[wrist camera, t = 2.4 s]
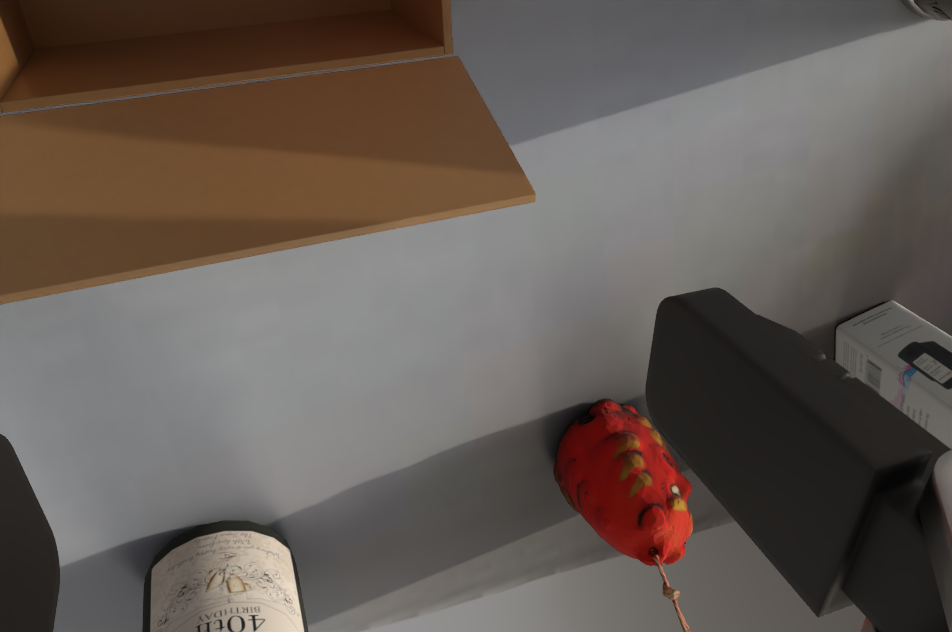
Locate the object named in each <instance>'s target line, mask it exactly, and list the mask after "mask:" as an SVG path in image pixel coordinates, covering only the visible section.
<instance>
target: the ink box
mask: <svg viewBox="0 0 952 632" xmlns="http://www.w3.org/2000/svg"><path fill="white" fill-rule="evenodd" d="M835 361H836V362H837V363H838V364H840V365H841V366H842V367H843V368H845V369H846V370H847V371H849V372H850V377H851V378H855V377H857V378H858V379H859V380H861V381H862V382H863V383H865V384H866V385H867V386H869V387H870V388H871V389H872V390H874V391H875V392H876V393H878V394H879V395H880V396H882V397H883V398H884V399H886V400H887V401H888V402H890V403H891V404H892V405H894V406H895V407H896V408H897V409H899V410H900V411H901V412H903V413H904V414H905V415H907V416H908V417H909V418H911V419H912V420H913V421H915V422H916V423H917V424H919V425H920V426H921V427H923V428H924V429H925V430H926V431H928V432H929V433H930V434H932V435H933V436H934V437H936V438H937V439H938V440H940V441H941V442H942V443H944V444H945V445H946V446H948V447H949V448H950V449H952V337H951V336H949V335H948V334H946V333H945V332H943V331H941V330H940V329H938V328H937V327H935V326H934V325H932V324H930V323H929V322H927V321H925V320H924V319H922V318H920V317H919V316H917V315H916V314H914V313H912V312H911V311H909V310H907V309H906V308H904V307H903V306H901V305H899V304H898V303H896V302H895V301H893V300H891V301H889V302H887V303H885V304H882V305H880V306H878V307H876V308H873V309H871V310H869V311H867V312H865V313H863V314H861V315H858V316H856V317H854V318H852V319H850V320H849V321H846V322H844V323H843V324H840V325H839V326H838V327H837V329H836V357H835Z"/></svg>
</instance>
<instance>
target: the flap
mask: <svg viewBox="0 0 952 632" xmlns="http://www.w3.org/2000/svg"><path fill="white" fill-rule="evenodd" d="M535 199H536V193H535V191H534V189H533V188H532V186H531V184H530V182H529V180H528V179H527V177H526V175H525V173H524V172H523V170H522V168H521V166H520V165H519V163H518V161H517V159H516V157H515V156H514V154H513V152H512V150H511V149H510V147H509V145H508V143H507V142H506V140H505V138H504V136H503V134H502V133H501V131H500V129H499V127H498V126H497V124H496V122H495V120H494V119H493V117H492V115H491V113H490V112H489V110H488V108H487V106H486V104H485V103H484V101H483V99H482V97H481V96H480V94H479V92H478V90H477V89H476V87H475V85H474V83H473V81H472V80H471V78H470V76H469V74H468V73H467V71H466V69H465V67H464V66H463V64H462V62H461V60H460V58H459V57H458V56H455V57H447V58H439V59H432V60H424V61H416V62H409V63H401V64H393V65H386V66H378V67H371V68H363V69H355V70H348V71H340V72H332V73H325V74H317V75H310V76H302V77H294V78H287V79H279V80H271V81H264V82H256V83H248V84H241V85H233V86H226V87H218V88H210V89H203V90H195V91H187V92H180V93H172V94H165V95H157V96H149V97H142V98H134V99H126V100H119V101H111V102H103V103H96V104H88V105H81V106H73V107H65V108H58V109H50V110H42V111H35V112H27V113H20V114H12V115H4V116H0V304H5V303H10V302H15V301H21V300H26V299H31V298H36V297H41V296H47V295H52V294H57V293H62V292H68V291H73V290H78V289H83V288H88V287H94V286H99V285H104V284H109V283H114V282H120V281H125V280H130V279H135V278H141V277H146V276H151V275H156V274H161V273H167V272H172V271H177V270H182V269H187V268H193V267H198V266H203V265H208V264H214V263H219V262H224V261H229V260H234V259H240V258H245V257H250V256H255V255H260V254H266V253H271V252H276V251H281V250H287V249H292V248H297V247H302V246H307V245H313V244H318V243H323V242H328V241H334V240H339V239H344V238H349V237H354V236H360V235H365V234H370V233H375V232H380V231H386V230H391V229H396V228H401V227H407V226H412V225H417V224H422V223H427V222H433V221H438V220H443V219H448V218H453V217H459V216H464V215H469V214H474V213H480V212H485V211H490V210H495V209H500V208H506V207H511V206H516V205H521V204H527V203H532V202H535Z"/></svg>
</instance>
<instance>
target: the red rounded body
mask: <svg viewBox="0 0 952 632" xmlns="http://www.w3.org/2000/svg"><path fill="white" fill-rule="evenodd" d="M589 412H590V414H588V415H587V417H578V419H576V420H575V421H574V422H573V423H572V424H571V426H570V427H569V428H568V429H567V431H566V432H565V433H564V435H563V437H562V439H561V441H560V444H559V446H558V454H557V460H556V462H555V465H554V476H555V480H556V481H557V483H558V484H559V487H560V490H561V492H562V493H563V495H564V497H565V498H566V500H567V502H568V503H569V504H570V505H571V506H572V507H573V509H574V510H576V511H578V512H579V513H581V515H582V516H583V518H584V519H585V520H586V521H587V522H588V523H589V524H590V525H591V526H592V528H593V529H594V530H595V531H596V532H597V534H598V535H599V536H600V537H601V538H603V539H604V540H605V541H606V542H607V543H609V544H610V545H611V546H612V547H613V548H615V549H616V550H617V551H619V552H621V553H623V554H625V555H627V556H629V557H632V558H635V559H639V560H640V561H641V562H643V563H644V564H646V565H650V566H652V565H656V566H658V568H659V571H660V574H661V576H662V579H663V581H664V584H663V595H664V596H666V597H668V598H669V599H670V600H672V601H673V604H674V606H675V609H676V612H677V615H678V617H679V620H680V622H681V625H682V627H683V630H684V632H691V631H690V629H689V626H688V624H687V622H686V620H685V619H684V617H683V615H682V613H681V611H680V609H679V606H678V604H677V598H678V597H679V595H680V593H679V591H676V590H673V589H671V587H670V585H669V583H668V580H667V578H666V575H665V573H664V571H663V568H662V562H663V563H665V564H671V563H675V562H676V561H678V560H679V559H681V558H682V557H683V555H684V554H685V545H684V544H686V542H685V541H686V540H687V539H688V538H689V537H690V535H691V533H692V530H693V520H692V514H691V513H690V511H689V510H688V507H687V500H688V497H689V496H690V494H691V490H692V485H691V484H690V482H689V481H688V480H687V479H686V478H685V477H684V476H683V475H682V474H680V470H679V467H678V465H677V463H676V462H675V461H674V459H673V458H672V455H671V453H670V452H669V451H668V449H667V446H666V444H665V442H664V440H663V439H662V438H661V436H660V435H659V433H658V432H657V431H655V429H654V428H653V427H652V425H651V424H650V422H649V421H648V420H647V419H646V418H645V417H644V416H642V415H640V414H638V412H637V411H636V410H635V409H634V407H633V406H631V405H622V404H618V403H615V402H614V401H612V400H611V399H602V400H599V401H597V402H595V403H594V404H593V405H592V407H591V410H590V411H589Z"/></svg>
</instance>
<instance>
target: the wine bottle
mask: <svg viewBox="0 0 952 632" xmlns="http://www.w3.org/2000/svg"><path fill="white" fill-rule="evenodd" d="M143 632H308V627H307V621H306V616H305V610H304V605H303V599H302V594H301V588H300V583H299V577H298V572H297V567H296V563H295V559H294V557H293V554H292V552H291V550H290V547H289V545H288V543H287V541H286V540H285V539H283V538H282V537H281V536H279V535H278V534H277V533H276V532H274V531H273V530H272V529H270V528H269V527H266V526H262V525H259V524H256V523H253V522H249V521H219V522H215V523H210V524H206V525H201V526H198V527H196V528H194V529H192V530H190V531H188V532H186V533H184V534H182V535H180V536H178V537H176V538H175V539H174V540H172V541H171V542H170V543H169V544H168V545H167V546H166V547H165V548H164V549H162V550H161V551H160V552H159V553H158V554H157V555H156V557H155V559H154V561H153V563H152V565H151V567H150V569H149V571H148V573H147V575H146V577H145V583H144V601H143Z"/></svg>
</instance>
